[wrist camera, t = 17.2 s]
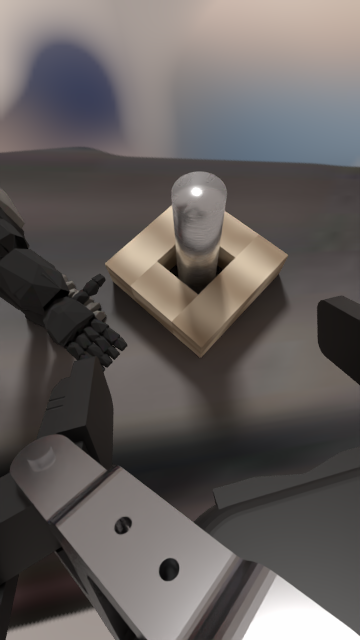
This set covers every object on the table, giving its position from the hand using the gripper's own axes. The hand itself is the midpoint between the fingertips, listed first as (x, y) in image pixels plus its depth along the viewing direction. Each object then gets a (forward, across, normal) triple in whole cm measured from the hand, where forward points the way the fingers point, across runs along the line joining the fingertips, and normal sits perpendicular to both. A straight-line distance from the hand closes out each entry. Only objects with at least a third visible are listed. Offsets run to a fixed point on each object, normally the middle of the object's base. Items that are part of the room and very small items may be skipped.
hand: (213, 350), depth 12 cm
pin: (+27, -4, +6) cm, 28 cm away
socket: (+27, -4, +6) cm, 28 cm away
